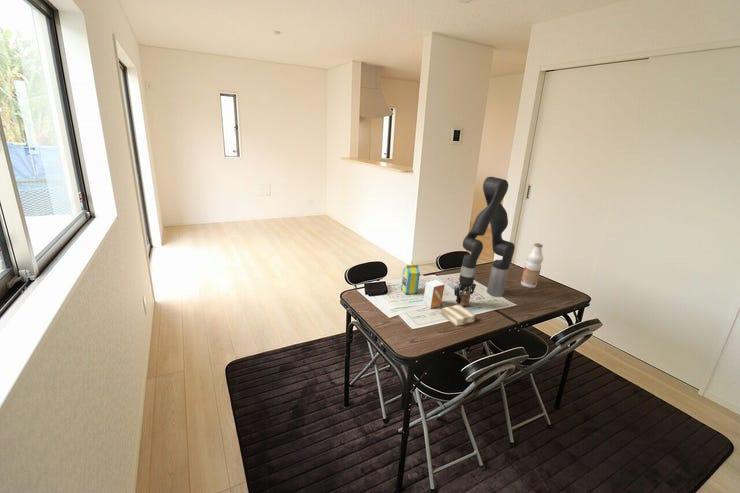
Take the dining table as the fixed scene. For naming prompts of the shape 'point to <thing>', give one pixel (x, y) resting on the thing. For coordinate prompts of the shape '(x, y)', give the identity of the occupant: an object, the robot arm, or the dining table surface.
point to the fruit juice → (532, 267)
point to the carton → (410, 279)
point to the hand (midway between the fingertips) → (462, 301)
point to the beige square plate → (458, 315)
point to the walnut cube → (464, 299)
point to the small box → (433, 294)
